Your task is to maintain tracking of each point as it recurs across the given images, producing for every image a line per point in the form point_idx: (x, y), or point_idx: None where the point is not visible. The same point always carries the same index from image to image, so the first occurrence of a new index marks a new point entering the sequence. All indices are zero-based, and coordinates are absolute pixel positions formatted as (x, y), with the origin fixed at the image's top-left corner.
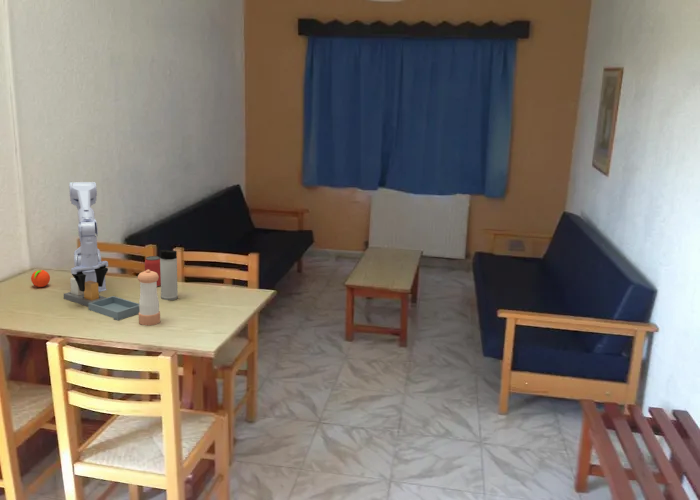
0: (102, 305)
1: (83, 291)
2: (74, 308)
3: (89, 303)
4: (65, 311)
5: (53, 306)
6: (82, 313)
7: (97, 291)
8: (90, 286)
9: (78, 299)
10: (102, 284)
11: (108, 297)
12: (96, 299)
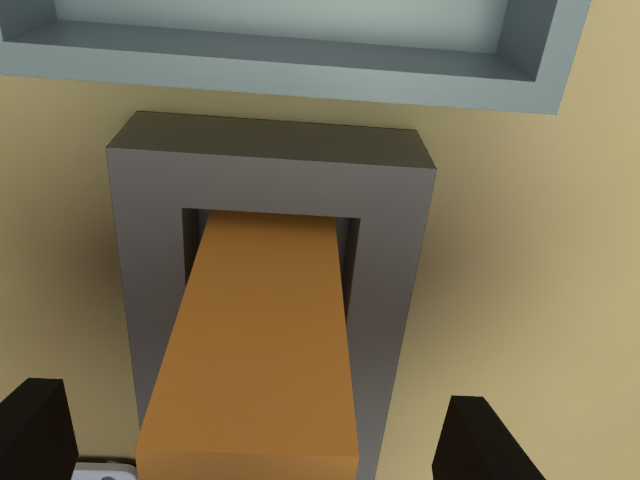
0: (279, 40)
1: (477, 397)
2: (501, 288)
3: (561, 83)
4: (631, 284)
5: (538, 458)
6: (630, 63)
7: (206, 300)
8: (351, 429)
9: (389, 389)
10: (1, 405)
11: (104, 75)
12: (277, 202)
